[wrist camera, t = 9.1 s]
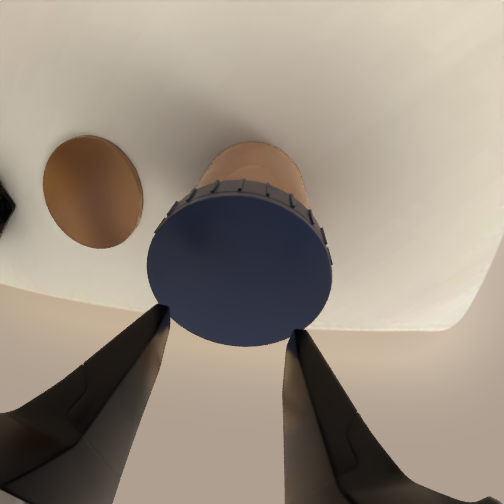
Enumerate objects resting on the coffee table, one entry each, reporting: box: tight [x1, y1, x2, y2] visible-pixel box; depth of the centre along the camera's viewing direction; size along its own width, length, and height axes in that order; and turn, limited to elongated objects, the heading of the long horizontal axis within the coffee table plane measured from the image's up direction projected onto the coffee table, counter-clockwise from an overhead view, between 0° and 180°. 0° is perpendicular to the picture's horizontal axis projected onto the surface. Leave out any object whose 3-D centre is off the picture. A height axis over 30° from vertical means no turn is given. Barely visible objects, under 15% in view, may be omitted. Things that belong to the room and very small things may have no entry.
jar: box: [195, 142, 310, 210], centre depth 16 cm, size 6×6×9 cm
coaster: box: [43, 136, 143, 249], centre depth 20 cm, size 9×9×1 cm
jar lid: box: [147, 178, 333, 347], centre depth 12 cm, size 7×7×2 cm
